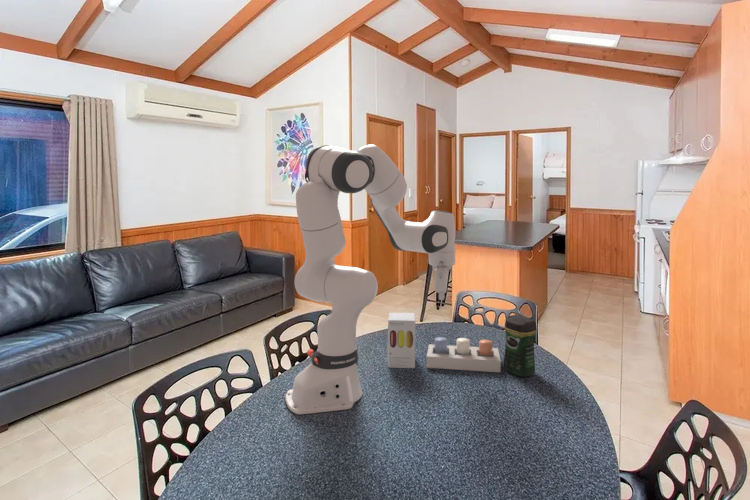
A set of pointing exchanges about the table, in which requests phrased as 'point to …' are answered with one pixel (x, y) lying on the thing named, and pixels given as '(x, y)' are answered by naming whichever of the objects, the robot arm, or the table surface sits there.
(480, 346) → the terracotta key
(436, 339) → the slate blue key
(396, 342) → the supplement box
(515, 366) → the coffee jar
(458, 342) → the ivory key
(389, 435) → the table surface
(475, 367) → the white boxy piece
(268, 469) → the table surface
